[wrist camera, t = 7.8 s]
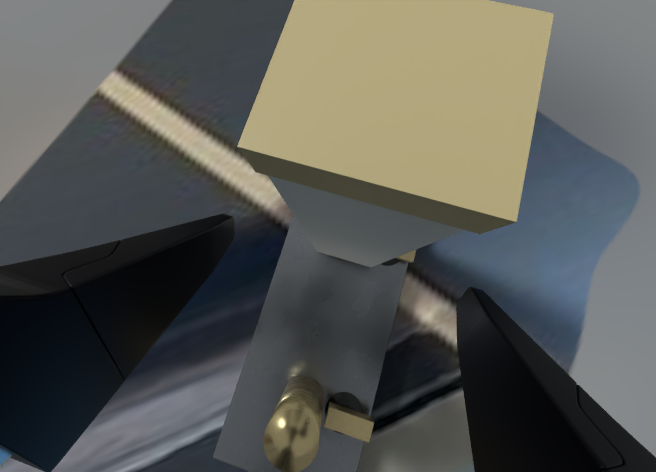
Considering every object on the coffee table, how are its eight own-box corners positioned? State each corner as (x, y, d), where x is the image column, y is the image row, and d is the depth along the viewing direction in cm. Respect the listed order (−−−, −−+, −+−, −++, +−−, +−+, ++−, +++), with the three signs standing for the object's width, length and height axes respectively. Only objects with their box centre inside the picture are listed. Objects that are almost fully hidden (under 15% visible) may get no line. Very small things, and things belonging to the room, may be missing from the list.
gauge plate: (346, 486, 15) (351, 600, 10) (224, 441, 16) (166, 523, 10) (425, 173, 19) (461, 129, 13) (321, 146, 19) (316, 93, 14)
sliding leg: (405, 279, 16) (707, 273, 3) (315, 252, 16) (237, 146, 3) (417, 231, 16) (716, 45, 3) (329, 206, 16) (308, -37, 4)
